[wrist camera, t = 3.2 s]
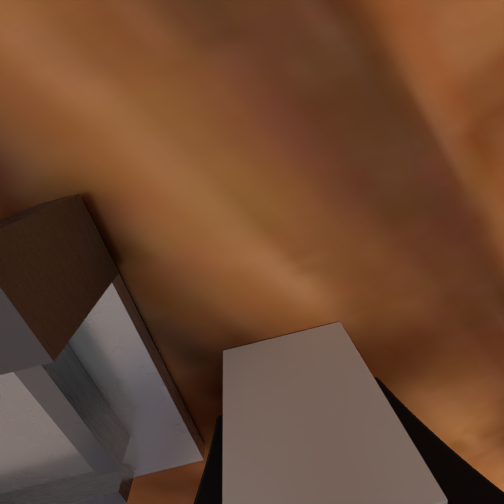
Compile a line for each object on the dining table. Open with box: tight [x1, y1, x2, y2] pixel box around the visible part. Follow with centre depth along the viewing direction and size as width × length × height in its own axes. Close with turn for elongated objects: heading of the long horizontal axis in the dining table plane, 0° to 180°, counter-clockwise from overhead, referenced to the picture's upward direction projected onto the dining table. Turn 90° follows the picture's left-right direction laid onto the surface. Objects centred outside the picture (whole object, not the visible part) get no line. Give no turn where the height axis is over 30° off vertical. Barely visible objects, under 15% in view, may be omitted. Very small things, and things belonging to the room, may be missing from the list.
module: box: [222, 322, 448, 504], centre depth 9 cm, size 5×4×6 cm
